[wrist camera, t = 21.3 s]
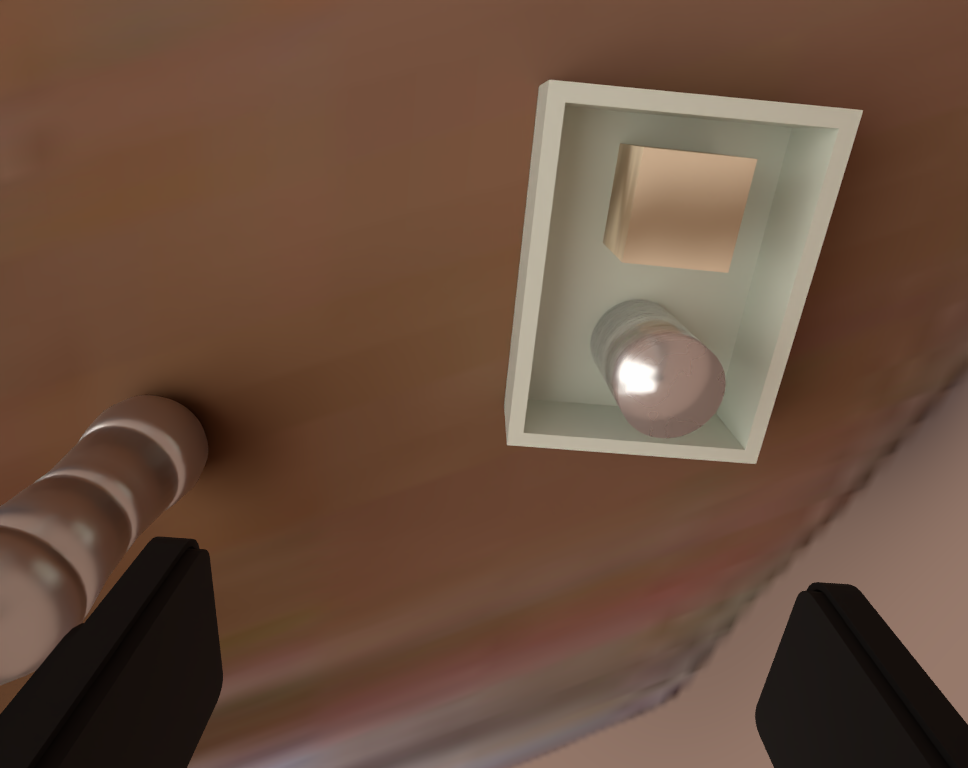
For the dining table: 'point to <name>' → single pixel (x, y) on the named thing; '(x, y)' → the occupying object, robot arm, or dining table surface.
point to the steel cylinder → (656, 369)
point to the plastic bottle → (88, 521)
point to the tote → (682, 292)
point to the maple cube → (677, 207)
